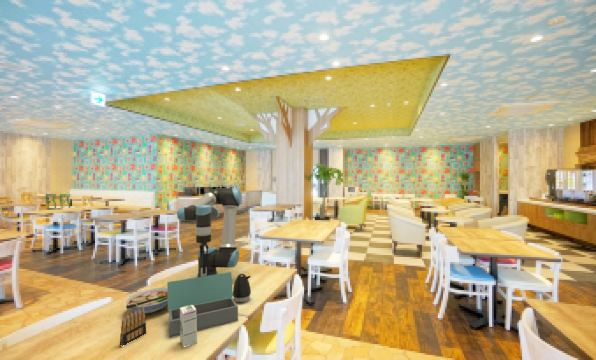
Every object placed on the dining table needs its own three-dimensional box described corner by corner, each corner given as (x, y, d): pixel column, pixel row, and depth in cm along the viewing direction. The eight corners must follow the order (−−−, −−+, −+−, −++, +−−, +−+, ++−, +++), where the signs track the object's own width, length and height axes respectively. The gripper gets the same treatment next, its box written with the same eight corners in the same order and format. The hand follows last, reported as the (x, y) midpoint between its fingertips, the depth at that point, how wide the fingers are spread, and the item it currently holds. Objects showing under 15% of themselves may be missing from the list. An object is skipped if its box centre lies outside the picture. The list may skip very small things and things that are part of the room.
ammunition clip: (143, 332, 121) (143, 306, 121) (146, 333, 120) (146, 306, 120) (119, 346, 111) (119, 317, 111) (122, 347, 110) (122, 318, 110)
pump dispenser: (247, 305, 147) (246, 277, 147) (229, 303, 149) (229, 276, 149) (253, 297, 157) (253, 271, 157) (237, 296, 159) (237, 270, 159)
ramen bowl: (168, 296, 159) (168, 282, 159) (183, 309, 143) (183, 294, 143) (118, 311, 142) (118, 295, 142) (129, 327, 125) (129, 310, 125)
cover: (167, 310, 127) (167, 309, 129) (232, 296, 142) (232, 296, 143) (167, 282, 130) (167, 282, 132) (231, 272, 145) (230, 271, 146)
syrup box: (197, 343, 113) (197, 308, 113) (182, 348, 109) (182, 312, 109) (193, 336, 117) (193, 303, 117) (179, 341, 114) (179, 307, 114)
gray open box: (169, 324, 127) (168, 310, 127) (231, 310, 141) (231, 297, 141) (170, 337, 117) (169, 321, 117) (237, 320, 131) (237, 306, 131)
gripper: (194, 233, 146) (194, 276, 145) (197, 237, 134) (197, 284, 134) (209, 231, 149) (209, 274, 149) (213, 235, 138) (213, 281, 137)
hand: (203, 279), depth 141 cm, fingers closed
